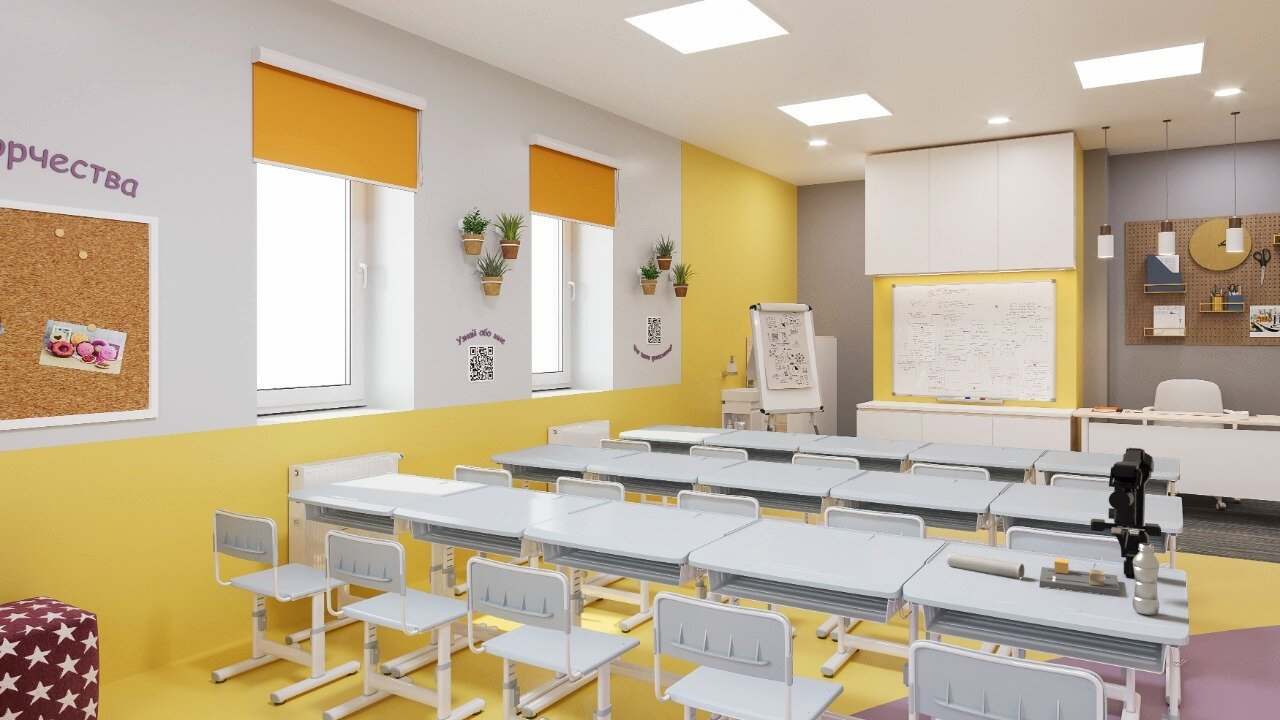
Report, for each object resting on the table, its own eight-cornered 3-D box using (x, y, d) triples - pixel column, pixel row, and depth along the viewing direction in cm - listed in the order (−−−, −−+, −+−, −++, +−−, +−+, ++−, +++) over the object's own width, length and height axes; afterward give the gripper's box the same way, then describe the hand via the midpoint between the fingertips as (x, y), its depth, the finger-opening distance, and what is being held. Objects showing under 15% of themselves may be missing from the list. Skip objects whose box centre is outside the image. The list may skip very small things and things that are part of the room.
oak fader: (1103, 581, 263) (1103, 570, 263) (1104, 586, 258) (1104, 574, 258) (1089, 580, 264) (1089, 569, 264) (1089, 584, 260) (1089, 573, 260)
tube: (943, 556, 289) (1018, 568, 272) (949, 548, 293) (1023, 560, 276) (945, 569, 290) (1019, 583, 273) (951, 561, 294) (1025, 574, 277)
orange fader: (1068, 570, 276) (1068, 559, 276) (1068, 573, 272) (1068, 563, 272) (1054, 568, 278) (1055, 558, 278) (1054, 572, 274) (1054, 561, 273)
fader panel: (1116, 581, 271) (1116, 574, 271) (1119, 596, 255) (1119, 589, 255) (1041, 572, 281) (1041, 566, 281) (1039, 586, 265) (1039, 580, 265)
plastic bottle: (1150, 619, 234) (1151, 548, 234) (1127, 612, 240) (1127, 543, 240) (1164, 615, 237) (1165, 545, 237) (1140, 608, 243) (1141, 540, 243)
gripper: (1158, 502, 260) (1157, 552, 260) (1090, 497, 269) (1090, 545, 269) (1161, 509, 250) (1161, 561, 251) (1090, 503, 259) (1090, 553, 259)
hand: (1124, 555), depth 258 cm, fingers closed
